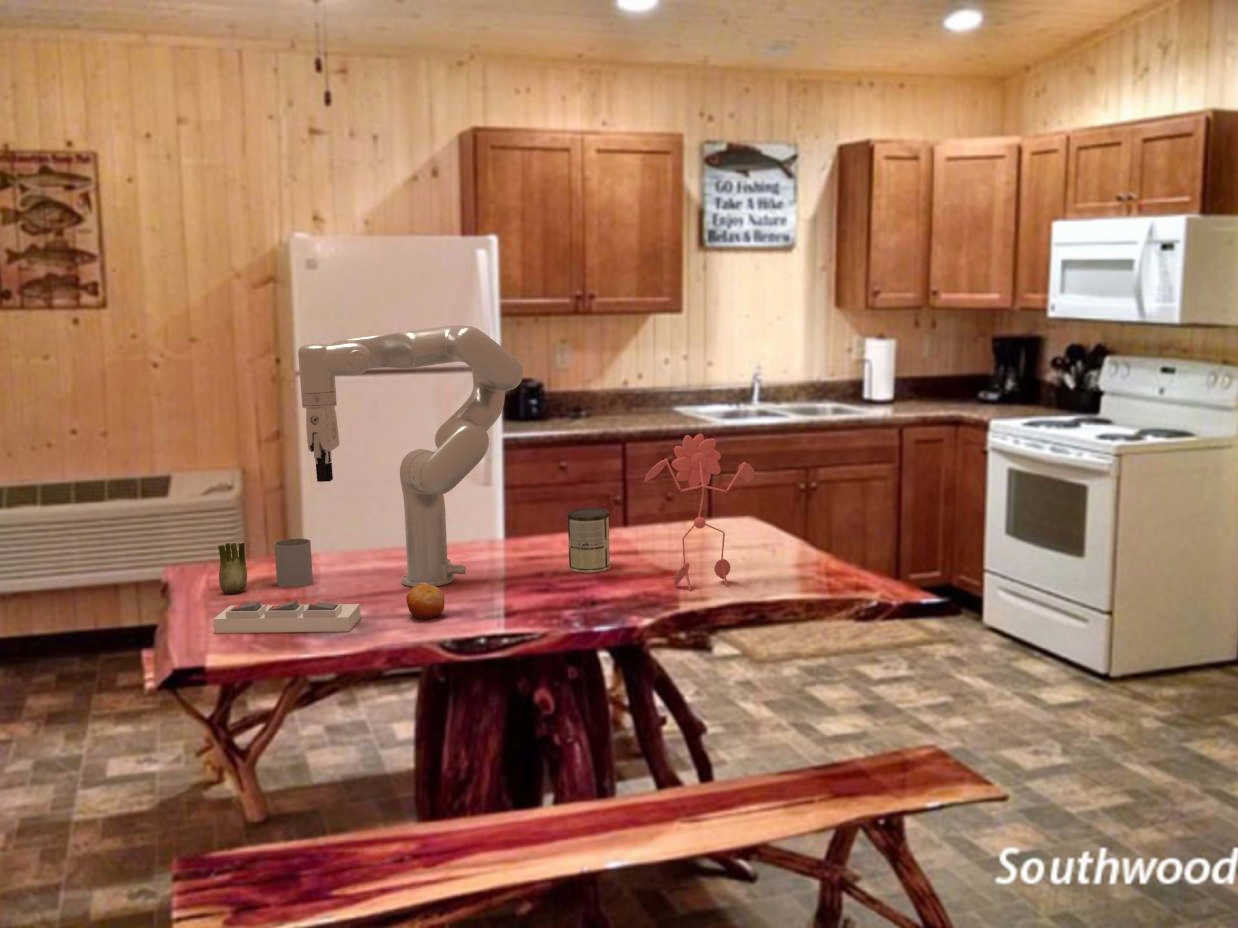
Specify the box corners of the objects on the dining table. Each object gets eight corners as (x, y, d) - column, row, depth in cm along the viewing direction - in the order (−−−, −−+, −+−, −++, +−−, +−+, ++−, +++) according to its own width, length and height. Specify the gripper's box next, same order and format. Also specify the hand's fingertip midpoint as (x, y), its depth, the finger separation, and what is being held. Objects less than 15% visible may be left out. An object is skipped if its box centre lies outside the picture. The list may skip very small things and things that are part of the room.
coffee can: (562, 566, 297) (560, 510, 295) (599, 561, 301) (598, 506, 299) (578, 575, 288) (577, 517, 285) (617, 569, 292) (616, 513, 290)
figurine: (762, 583, 276) (760, 433, 271) (658, 595, 268) (653, 441, 263) (734, 570, 290) (731, 427, 286) (634, 581, 282) (630, 434, 277)
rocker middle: (298, 605, 249) (296, 599, 249) (294, 609, 246) (292, 603, 246) (276, 611, 250) (274, 605, 249) (271, 615, 246) (269, 610, 246)
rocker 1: (260, 606, 250) (259, 600, 249) (255, 611, 246) (254, 605, 246) (237, 611, 250) (236, 605, 250) (232, 615, 247) (231, 609, 246)
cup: (303, 588, 281) (300, 546, 279) (270, 587, 282) (268, 545, 281) (318, 579, 289) (316, 538, 287) (287, 578, 290) (284, 538, 289)
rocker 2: (336, 609, 249) (336, 603, 249) (332, 614, 246) (332, 608, 246) (312, 606, 249) (313, 600, 249) (308, 610, 246) (308, 604, 246)
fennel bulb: (249, 589, 280) (245, 539, 279) (243, 595, 276) (240, 544, 274) (224, 590, 280) (220, 540, 278) (218, 595, 275) (214, 545, 274)
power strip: (360, 617, 255) (359, 597, 255) (349, 631, 245) (347, 610, 245) (231, 619, 256) (229, 599, 255) (214, 632, 246) (212, 612, 245)
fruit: (428, 601, 262) (436, 574, 257) (444, 625, 257) (453, 598, 253) (395, 608, 257) (403, 580, 252) (411, 633, 252) (419, 606, 248)
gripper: (327, 403, 258) (333, 486, 261) (343, 395, 273) (349, 474, 276) (292, 404, 259) (299, 487, 262) (311, 396, 273) (317, 475, 276)
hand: (325, 480), depth 269 cm, fingers closed
